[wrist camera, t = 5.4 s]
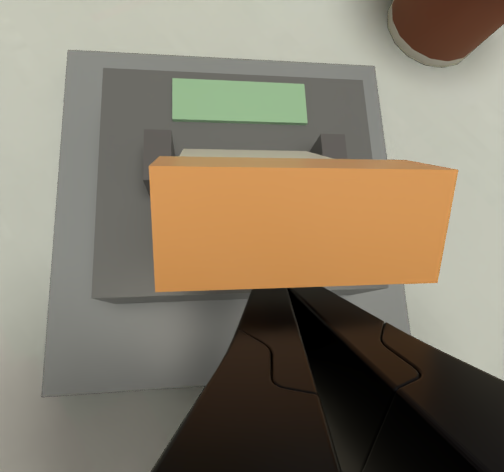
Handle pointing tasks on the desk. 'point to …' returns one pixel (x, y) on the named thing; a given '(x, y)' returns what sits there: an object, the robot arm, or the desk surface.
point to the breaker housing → (139, 204)
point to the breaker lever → (295, 220)
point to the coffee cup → (443, 28)
